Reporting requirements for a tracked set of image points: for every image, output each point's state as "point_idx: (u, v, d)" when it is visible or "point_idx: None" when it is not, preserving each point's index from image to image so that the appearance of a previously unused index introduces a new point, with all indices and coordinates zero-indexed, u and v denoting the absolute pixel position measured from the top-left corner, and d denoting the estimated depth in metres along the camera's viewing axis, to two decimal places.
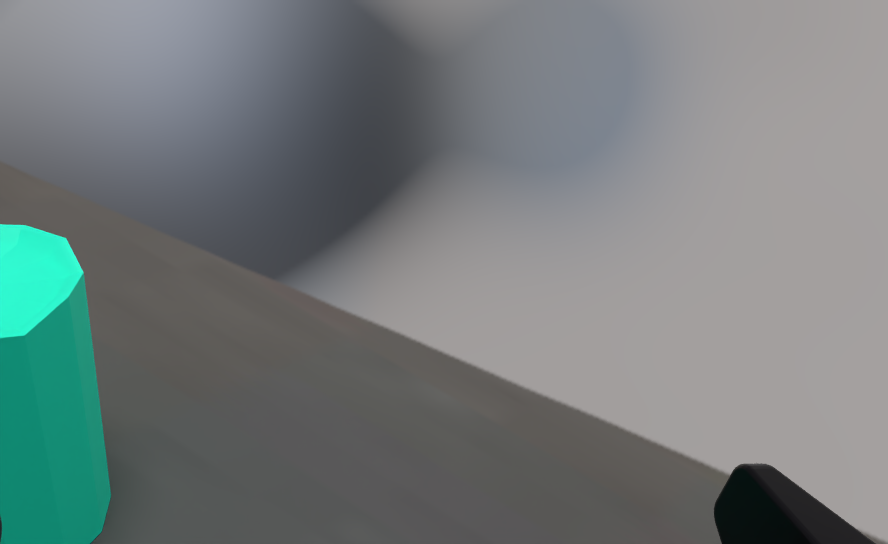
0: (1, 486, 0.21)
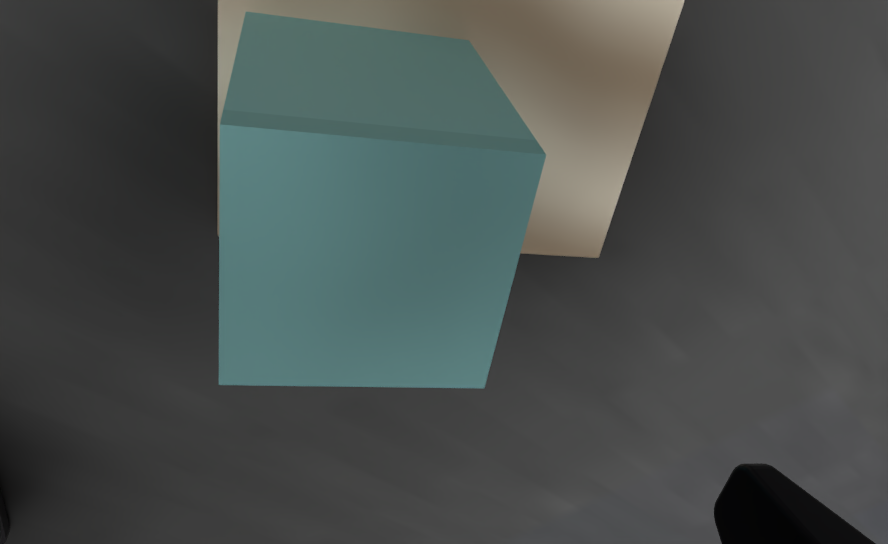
0: None
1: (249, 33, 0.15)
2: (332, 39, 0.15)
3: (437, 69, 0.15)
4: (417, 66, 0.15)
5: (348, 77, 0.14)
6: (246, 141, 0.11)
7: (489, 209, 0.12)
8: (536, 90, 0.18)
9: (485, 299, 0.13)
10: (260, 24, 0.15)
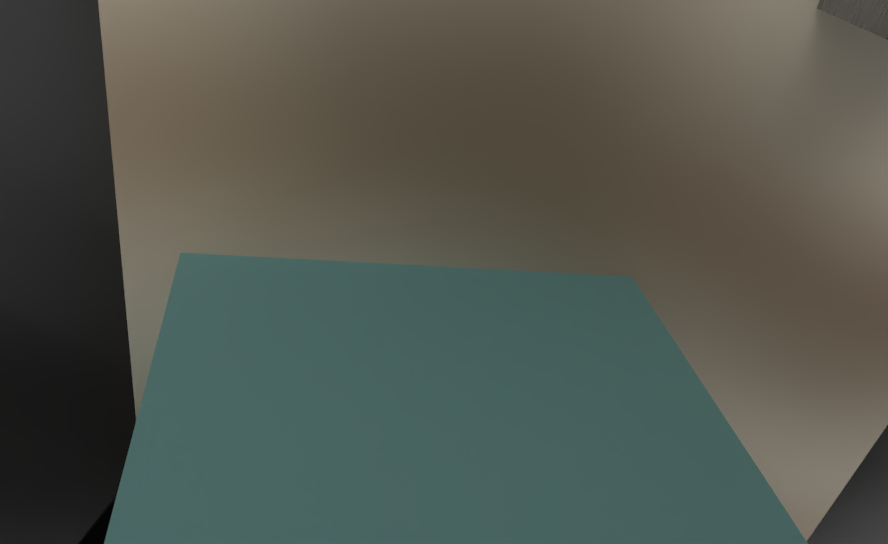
0: None
1: (173, 358, 0.06)
2: (366, 338, 0.07)
3: (618, 441, 0.06)
4: (570, 433, 0.06)
5: None
6: None
7: None
8: (743, 346, 0.10)
9: None
10: (207, 305, 0.07)
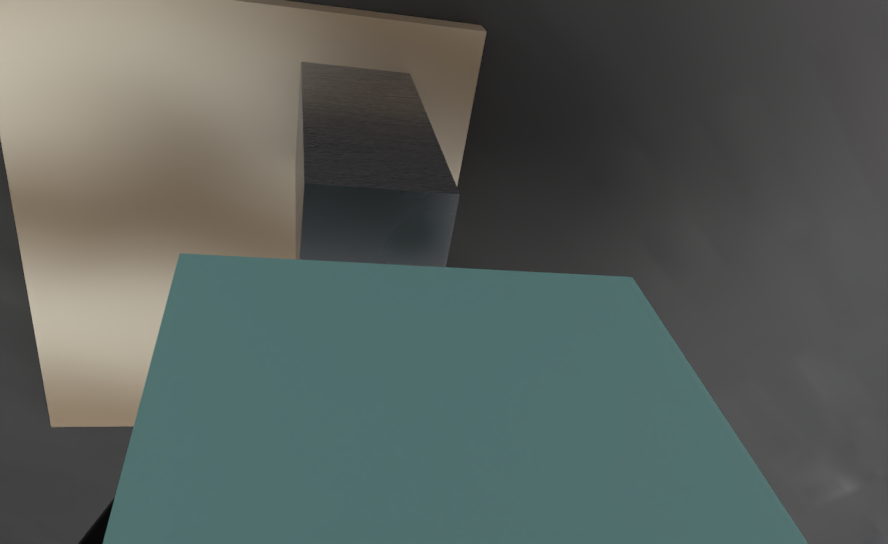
0: None
1: (172, 359, 0.06)
2: (367, 338, 0.07)
3: (619, 442, 0.06)
4: (571, 433, 0.06)
5: None
6: None
7: None
8: None
9: None
10: (205, 305, 0.07)
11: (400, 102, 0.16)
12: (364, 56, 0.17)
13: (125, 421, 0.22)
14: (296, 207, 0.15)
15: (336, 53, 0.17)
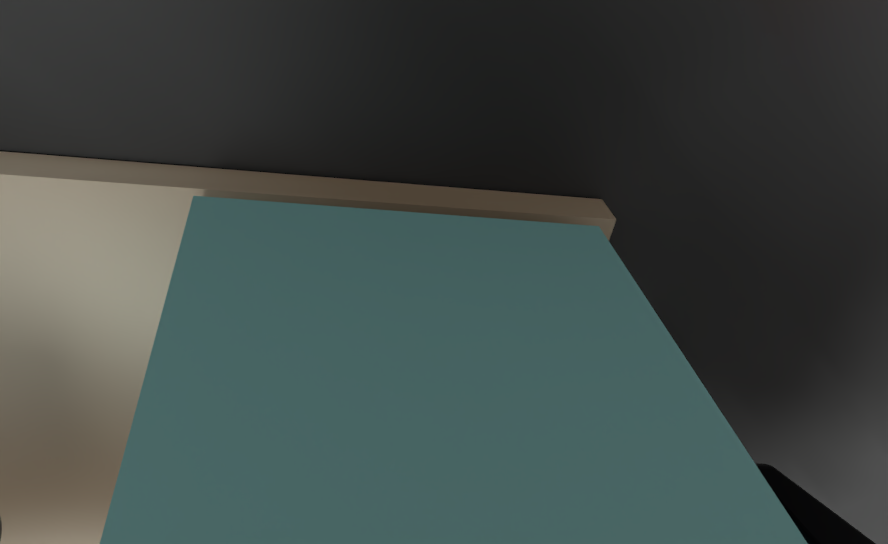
0: None
1: (189, 277, 0.07)
2: (358, 267, 0.08)
3: (576, 352, 0.07)
4: (534, 344, 0.07)
5: (401, 433, 0.06)
6: None
7: None
8: None
9: None
10: (217, 237, 0.08)
11: None
12: None
13: None
14: None
15: None
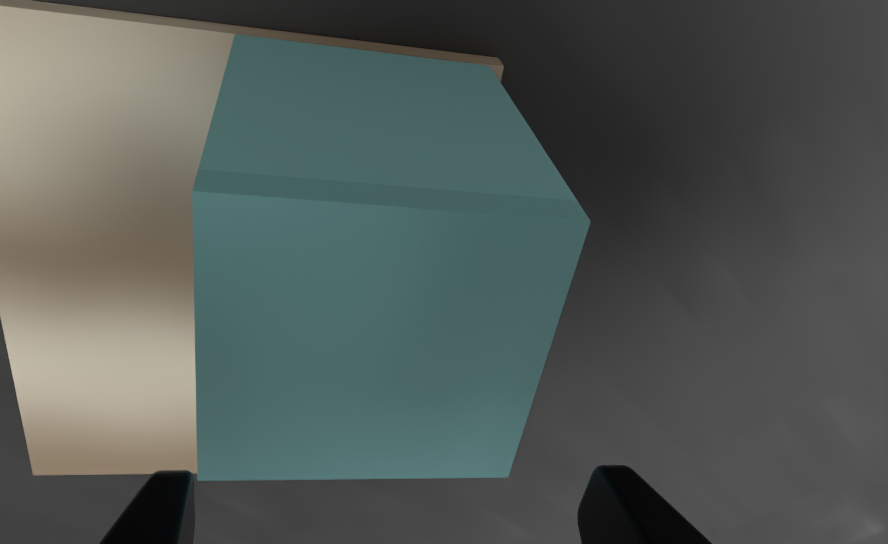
0: None
1: (237, 62, 0.13)
2: (333, 67, 0.13)
3: (455, 106, 0.13)
4: (432, 101, 0.13)
5: (351, 119, 0.11)
6: (225, 210, 0.09)
7: (520, 284, 0.10)
8: None
9: (512, 383, 0.11)
10: (250, 49, 0.13)
11: None
12: None
13: (112, 469, 0.21)
14: None
15: None
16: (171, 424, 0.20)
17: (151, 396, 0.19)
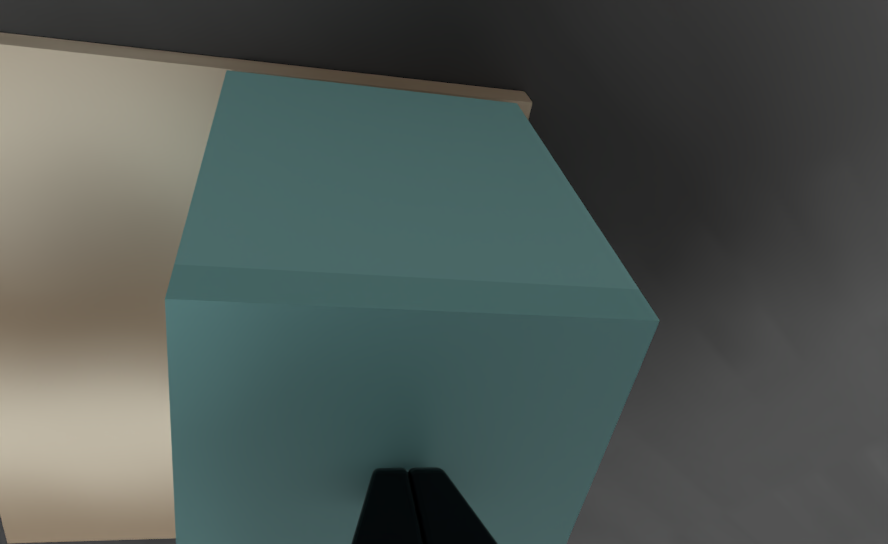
0: None
1: (228, 108, 0.11)
2: (341, 111, 0.12)
3: (484, 158, 0.11)
4: (456, 153, 0.11)
5: (363, 181, 0.10)
6: (207, 320, 0.07)
7: (570, 392, 0.08)
8: None
9: (555, 498, 0.09)
10: (245, 91, 0.12)
11: None
12: None
13: (94, 536, 0.19)
14: None
15: None
16: (159, 488, 0.18)
17: (136, 460, 0.17)
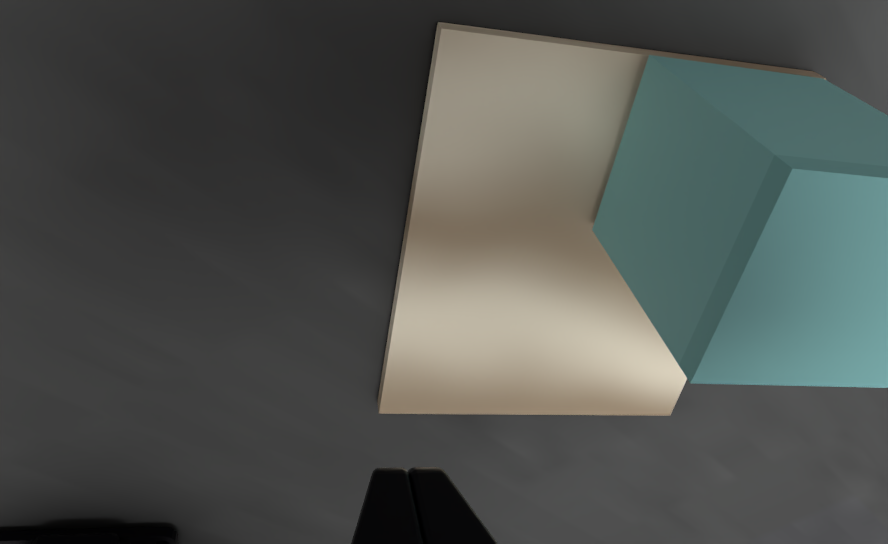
0: None
1: (683, 77, 0.17)
2: (740, 81, 0.18)
3: (845, 110, 0.17)
4: (828, 106, 0.17)
5: (802, 120, 0.16)
6: (804, 182, 0.13)
7: None
8: (631, 308, 0.24)
9: None
10: (677, 68, 0.18)
11: None
12: None
13: (439, 410, 0.25)
14: None
15: None
16: (496, 371, 0.24)
17: (488, 346, 0.24)
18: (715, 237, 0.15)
